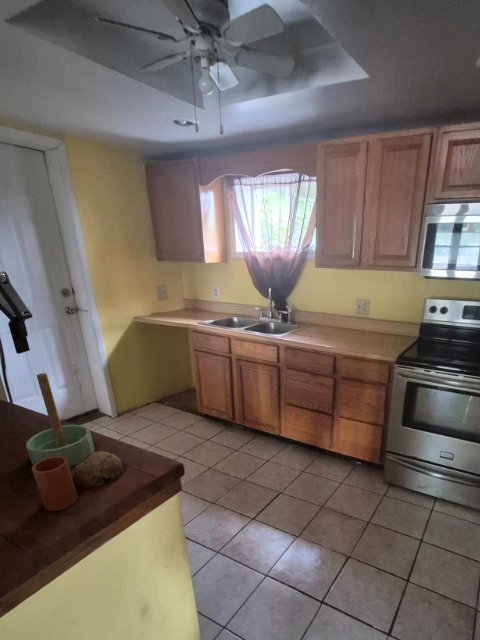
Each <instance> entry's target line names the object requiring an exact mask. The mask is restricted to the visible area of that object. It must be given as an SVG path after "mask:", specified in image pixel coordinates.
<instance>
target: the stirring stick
mask: <svg viewBox="0 0 480 640" xmlns="http://www.w3.org/2000/svg"><path fill="white" fill-rule="evenodd" d="M36 378H37V382H38V385H39V389H40V392H41V396H42V400H43V402H44V406H45V409H46V412H47V417H48V420H49V423H50V427H51V428H52V430H53V434H54V437H55V440H56V445H55V447H56V449H57V448H61V447H64V446H68V444H66V441H65V437H64V434H63V430H62V427H61V426H62V423H61V420H60V417H59V413H58V409H57V406H56V402H55V399H54V398H55V397H54V396H53V392H52V388H51V383H50V380H49V378H48V374H47V373H46V372H44V373H43V372H42V373H38V374H36Z"/></svg>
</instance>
